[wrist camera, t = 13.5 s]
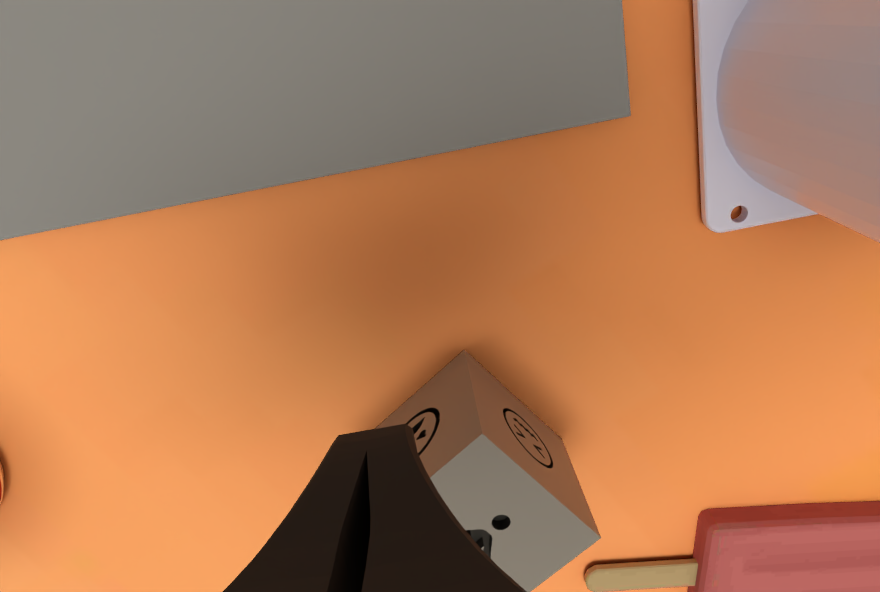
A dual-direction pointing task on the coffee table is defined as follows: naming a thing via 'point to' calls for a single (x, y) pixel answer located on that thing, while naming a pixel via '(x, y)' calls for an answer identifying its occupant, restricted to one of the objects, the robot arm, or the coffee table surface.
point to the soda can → (1, 482)
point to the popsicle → (766, 552)
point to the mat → (277, 92)
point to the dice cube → (499, 471)
